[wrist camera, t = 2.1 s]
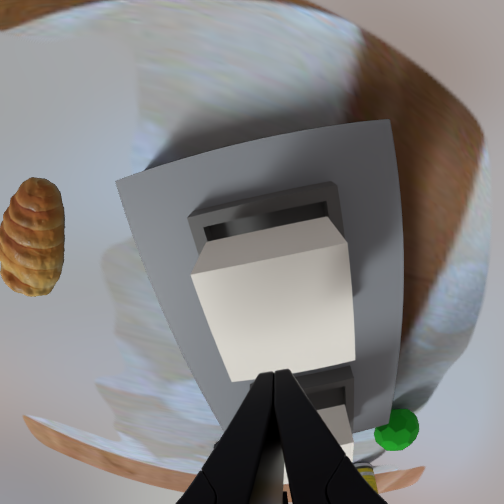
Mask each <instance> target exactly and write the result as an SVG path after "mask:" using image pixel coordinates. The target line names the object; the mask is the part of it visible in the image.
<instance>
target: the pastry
mask: <svg viewBox="0 0 504 504" xmlns="http://www.w3.org/2000/svg"><path fill="white" fill-rule="evenodd" d="M64 228H65V214H64V207H63V203H62V198H61V193H60V191H59V190H58V188H57V186H56V185H55V184H53V183H51V182H50V181H49V180H47V179H42V178H34V177H32V178H29V179H28V180H26V181H24V182H23V183H22V184H21V185H20V187H19V189H18V191H17V192H16V194H15V195H14V196H12V198H11V200H10V206H9V207H8V208H7V210H6V211H5V212H4V214H3V221H2V223H1V226H0V261H1V271H0V274H1V276H2V279H3V281H4V282H5V284H6V285H8V286H9V287H10V288H11V289H12V290H13V291H15V292H18V293H22V294H24V295H26V296H31V297H32V296H34V297H36V296H42V295H47V294H49V293H50V292H51V291H52V289H53V288H54V286H55V284H56V282H57V281H58V279H59V277H60V275H61V271H62V266H63V263H64V241H65V235H64Z"/></svg>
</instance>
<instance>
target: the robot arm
mask: <svg viewBox="0 0 504 504" xmlns="http://www.w3.org/2000/svg"><path fill="white" fill-rule="evenodd" d="M284 463H285V468H286V473H287V478H288V483H289V488H290V493H291V498H292V503H293V504H388V503H387V502H386V501H384V499H383V498H382V497H381V496H380V495H379V494H378V493H377V492H376V491H375V490H374V489H373V488H372V487H371V486H370V485H369V484H368V482H367V481H366V480H365V479H364V478H363V476H362V475H361V474H360V472H359V471H358V470H357V468H356V467H355V466H354V464H353V463H352V462H351V460H350V459H349V457H348V456H346V453H345V452H344V450H343V449H342V447H341V446H340V444H339V443H338V442H337V440H336V439H335V437H334V436H333V434H332V433H331V431H330V430H329V428H328V427H327V425H326V424H325V422H324V421H323V419H322V418H321V416H320V415H319V413H318V412H317V410H316V409H315V407H314V406H313V404H312V403H311V401H310V400H309V398H308V397H307V395H306V394H305V392H304V391H303V389H302V388H301V386H300V384H299V383H298V381H297V380H296V378H295V377H294V375H293V374H292V372H291V371H290V369H281V370H276V371H275V372H273V371H269V372H263V373H259V374H258V376H257V377H256V379H255V381H254V383H253V384H252V386H251V388H250V390H249V391H248V393H247V395H246V397H245V398H244V400H243V402H242V404H241V405H240V407H239V409H238V410H237V412H236V414H235V415H234V417H233V419H232V420H231V422H230V424H229V425H228V427H227V429H226V430H225V432H224V434H223V435H222V437H221V439H220V440H219V442H218V443H217V444H214V450H213V451H212V453H211V454H210V456H209V458H208V459H207V461H206V462H205V464H204V465H203V467H202V471H199V473H198V474H197V476H196V477H195V479H194V480H193V482H192V483H191V485H190V486H189V487H188V489H187V490H186V491H185V493H184V494H183V496H182V497H181V498H180V499H179V500H178V501H177V503H176V504H288V498H287V491H284V492H283V481H284Z"/></svg>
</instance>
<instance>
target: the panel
mask: <svg viewBox="0 0 504 504" xmlns="http://www.w3.org/2000/svg"><path fill="white" fill-rule="evenodd" d="M116 185H117V189H118V192H119V195H120V198H121V202H122V205H123V207H124V211H125V214H126V217H127V220H128V223H129V226H130V229H131V232H132V235H133V237H134V240H135V243H136V246H137V249H138V251H139V254H140V257H141V259H142V262H143V265H144V267H145V270H146V272H147V275H148V277H149V280H150V282H151V285H152V287H153V290H154V292H155V294H156V297H157V299H158V302H159V304H160V306H161V309H162V311H163V313H164V316H165V318H166V320H167V322H168V324H169V327H170V329H171V331H172V333H173V335H174V338H175V340H176V342H177V344H178V346H179V348H180V350H181V352H182V354H183V356H184V358H185V360H186V362H187V365H188V367H189V368H190V370H191V372H192V374H193V376H194V378H195V380H196V382H197V384H198V386H199V388H200V390H201V392H202V393H203V395H204V397H205V399H206V401H207V403H208V404H209V406H210V408H211V410H212V412H213V413H214V415H215V417H216V419H217V420H218V422H219V424H220V426H221V427H222V429H223V431H224V432H225V430H226V429H227V427H228V425H229V424H230V422H231V420H232V419H233V417H234V415H235V414H236V412H237V410H238V409H239V407H240V405H241V404H242V402H243V400H244V398H245V397H246V395H247V393H248V391H249V390H250V388H251V386H252V384H253V383H254V381H255V379H253V380H245V381H237V382H232V381H231V379H230V377H229V374H228V372H227V370H226V367H225V365H224V362H223V360H222V357H221V355H220V352H219V350H218V347H217V345H216V342H215V340H214V337H213V335H212V332H211V330H210V327H209V324H208V322H207V319H206V316H205V314H204V311H203V308H202V306H201V303H200V300H199V298H198V295H197V292H196V289H195V286H194V284H193V281H192V278H191V272H192V270H193V268H194V266H195V264H196V262H197V260H198V258H199V256H200V254H201V252H202V250H203V248H204V246H205V244H206V242H208V241H213V240H217V239H222V238H227V237H231V236H236V235H240V234H245V233H250V232H254V231H259V230H264V229H269V228H273V227H278V226H283V225H288V224H293V223H297V222H302V221H307V220H312V219H317V218H322V217H328V218H329V219H330V221H331V222H332V223H333V224H334V226H335V227H336V228H337V230H338V231H339V232H340V234H341V235H342V236H343V238H344V239H345V240H346V242H347V243H348V252H349V262H350V272H351V284H352V297H353V312H354V332H355V360H354V361H350V362H345V363H341V364H337V365H332V366H328V367H323V368H318V369H313V370H308V371H303V372H298V373H292V374H293V375H294V377H295V378H296V380H297V381H298V383H299V384H300V386H301V388H302V389H303V391H304V392H305V394H306V395H307V397H308V398H309V400H310V401H311V403H312V404H313V406H314V407H315V409H316V410H320V409H325V408H330V407H335V406H339V405H344V404H345V408H346V412H347V416H348V420H349V424H350V428H351V433H356V432H360V431H364V430H368V429H372V428H375V427H379V426H382V425H385V424H388V423H389V418H390V413H391V407H392V402H393V396H394V390H395V383H396V376H397V369H398V360H399V351H400V341H401V329H402V314H403V289H404V249H403V224H402V209H401V197H400V186H399V177H398V169H397V161H396V154H395V147H394V141H393V135H392V129H391V124H390V119H383V120H372V121H362V122H354V123H346V124H339V125H332V126H325V127H319V128H313V129H307V130H301V131H296V132H290V133H285V134H280V135H275V136H270V137H265V138H261V139H256V140H252V141H247V142H243V143H239V144H235V145H231V146H227V147H223V148H219V149H215V150H211V151H207V152H204V153H200V154H197V155H193V156H190V157H186V158H183V159H179V160H176V161H173V162H169V163H166V164H163V165H160V166H157V167H154V168H151V169H148V170H145V171H142V172H139V173H136V174H133V175H131V176H128V177H125V178H122V179H120V180H117V181H116Z"/></svg>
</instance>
